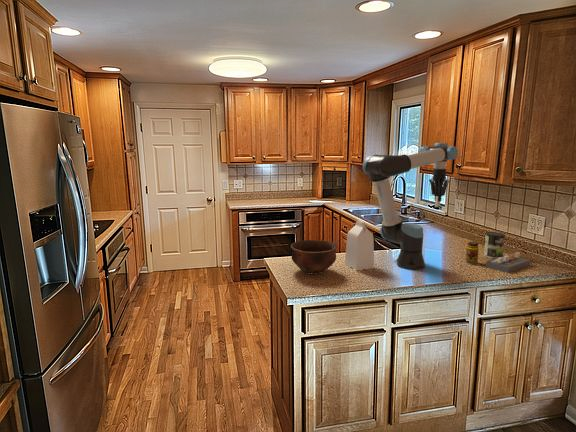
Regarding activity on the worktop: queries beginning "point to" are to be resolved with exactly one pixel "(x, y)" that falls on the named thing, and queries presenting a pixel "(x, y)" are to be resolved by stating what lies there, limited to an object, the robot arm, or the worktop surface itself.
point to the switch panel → (508, 264)
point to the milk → (360, 247)
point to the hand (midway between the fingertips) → (437, 206)
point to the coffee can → (494, 244)
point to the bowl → (313, 255)
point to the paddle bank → (508, 258)
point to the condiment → (472, 254)
